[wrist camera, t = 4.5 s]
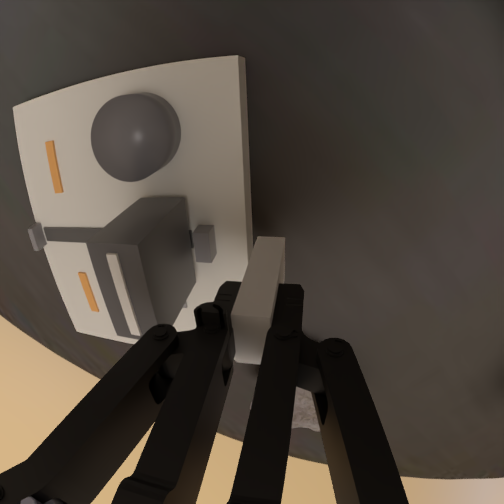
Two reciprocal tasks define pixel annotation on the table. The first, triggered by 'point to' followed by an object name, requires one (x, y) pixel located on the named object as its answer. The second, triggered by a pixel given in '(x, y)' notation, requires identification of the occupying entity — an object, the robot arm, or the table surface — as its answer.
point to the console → (140, 172)
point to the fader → (144, 264)
